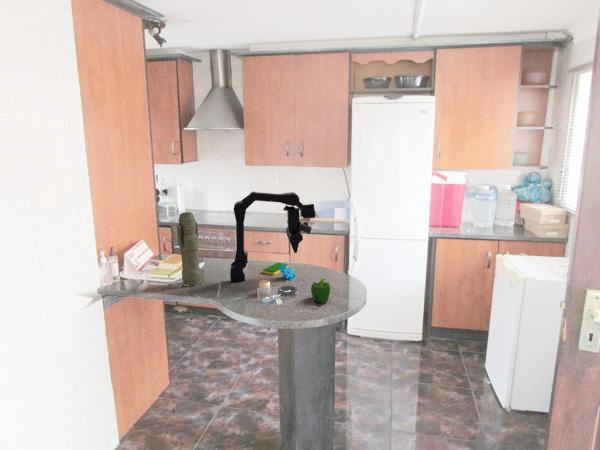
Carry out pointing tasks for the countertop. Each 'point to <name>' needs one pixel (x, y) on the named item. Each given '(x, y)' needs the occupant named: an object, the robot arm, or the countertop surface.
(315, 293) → the bell pepper
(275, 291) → the hub plate
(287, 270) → the gear
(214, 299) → the countertop surface
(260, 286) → the knob
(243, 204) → the robot arm
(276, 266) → the dish sponge
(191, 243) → the thermos
